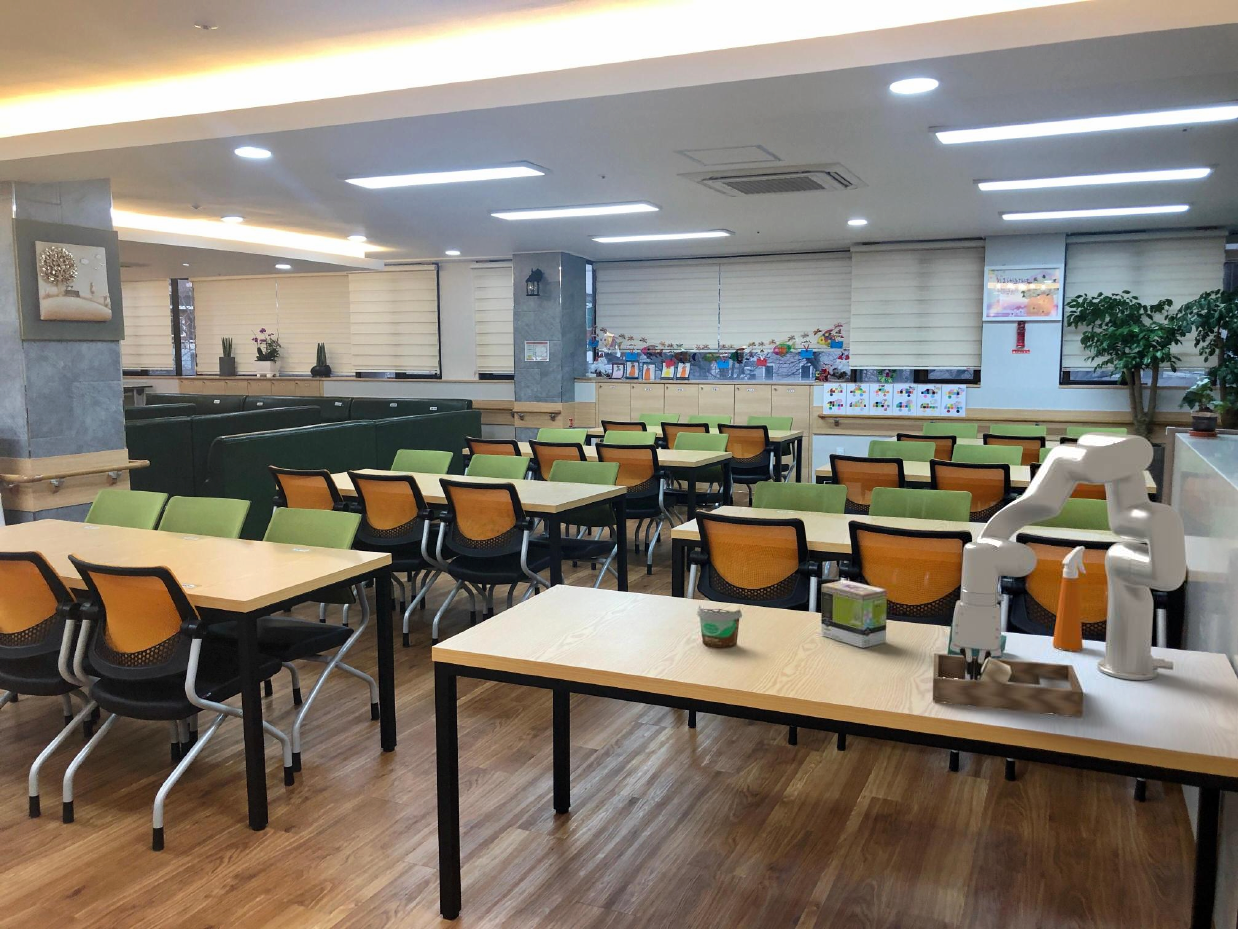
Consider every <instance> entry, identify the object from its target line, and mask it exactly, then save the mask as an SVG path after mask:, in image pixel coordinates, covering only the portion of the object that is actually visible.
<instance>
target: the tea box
mask: <svg viewBox="0 0 1238 929" xmlns="http://www.w3.org/2000/svg"><path fill="white" fill-rule="evenodd" d="M887 591H888V589H886V588H882V587H877V586H873V585H868V584H865V583H860V582H857V581H851V580H846V579H844V580H838V581H834V582H828V583H823V584H821V602H820V603H821V605H820V606H821V608H820V609H821V612H820V614H821V616H820V617H821V618H820V623H821V624H820V627H821V629H820V633H821V636H822V635H823V637H826V638H829V639H833V640H835V641H838V642H842V643H845V644H849V645H852V646H856V647H858V648H861V649H864V648H868V647H874V646H877V645H880V644H881V645H882V644H883V643H886V641H887V639H886V638H887V606H888V605H887V600H888V599H887V597H888V596H887V595H888V592H887Z"/></svg>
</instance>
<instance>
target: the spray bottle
mask: <svg viewBox="0 0 1238 929" xmlns="http://www.w3.org/2000/svg"><path fill="white" fill-rule="evenodd" d="M1085 550H1086V548H1085V546H1083V545H1082V546H1076V547H1075V548H1074V549H1073V550H1071V552H1070V553H1068V554H1067V555H1066V556H1065V557H1064V558H1063V561H1062V562H1061V564H1062V565H1064V568H1062V579H1061V587H1060V592H1059V599H1058V600H1059V601H1058V606H1057V613H1056V619H1055V620H1056V621H1055V627H1054V634H1053V638H1052V639H1053V640H1052V646H1053V647H1054V648H1055V647H1057V648H1061V649H1063V650H1062V651H1064V650H1071V651H1070V652H1078V650H1080V651H1082V650H1083V649H1084V648H1083V634H1082V632H1083V631H1082V618H1081V616H1082V615H1081V601H1080V600H1081V598H1080V586H1079V585H1080V584H1079V570H1080V573H1083V574H1085V575H1087V572H1086V569H1085V566H1084V564H1083V555H1084V554H1083V552H1085ZM1057 648H1056V649H1057Z"/></svg>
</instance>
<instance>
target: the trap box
mask: <svg viewBox="0 0 1238 929" xmlns="http://www.w3.org/2000/svg"><path fill="white" fill-rule="evenodd" d="M973 658H974V666H975V660H976V657H973ZM993 659H994V658H993ZM995 660H997V661H999V662H1002V663H1004V664H1006V665H1008V666H1010V669H1011V675H1010V677H1009V679H1008V681H1007V683H996V682H985V681H979V676H978V680H974V678H973V679H972V680H970V675H968V674H967V660H966V659H965V657H964V656H960V655H948V654H947V653H946V654H945V653H936V652H934V653H933V670H932V671H933V673H932V674H933V677H932V702H933V701H935V702H934V703H938V702H946V703H945V704H948V703H952V704H951V705H957V704H960V706H967V705H970V706H969V707H977V708H978V707H979V708H987V709H999V710H1005V711H1007V710H1008V711H1016V712H1025V713H1037V714H1044V713H1053V714H1058V715H1057V716H1063V715H1068V716H1067V717H1072V716H1075V717H1076V718H1083V711H1084V690H1083V687H1082V685H1081V682H1080V680H1079V678H1078V676H1077V673H1076V671H1075V668H1074V667H1073V665H1072V664H1061V663H1050V662H1040V661H1039V662H1037V661H1028V660H1027V661H1026V660H1017V659H1014V660H1013V659H1004V658H999V659H995ZM985 661H986V660H985ZM985 661H984V662H983V663H982V667H983V665H984V663H985ZM943 677H945V678H943ZM954 678H958V679H954ZM1053 714H1052V715H1053ZM1075 717H1074V718H1075Z"/></svg>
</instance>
